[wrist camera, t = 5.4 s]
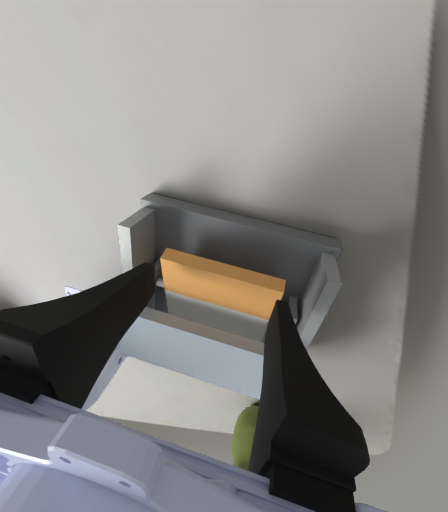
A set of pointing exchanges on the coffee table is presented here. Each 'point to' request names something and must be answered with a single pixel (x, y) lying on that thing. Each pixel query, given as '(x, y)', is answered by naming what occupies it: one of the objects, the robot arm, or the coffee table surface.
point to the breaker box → (236, 253)
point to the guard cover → (196, 351)
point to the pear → (244, 437)
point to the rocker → (219, 293)
